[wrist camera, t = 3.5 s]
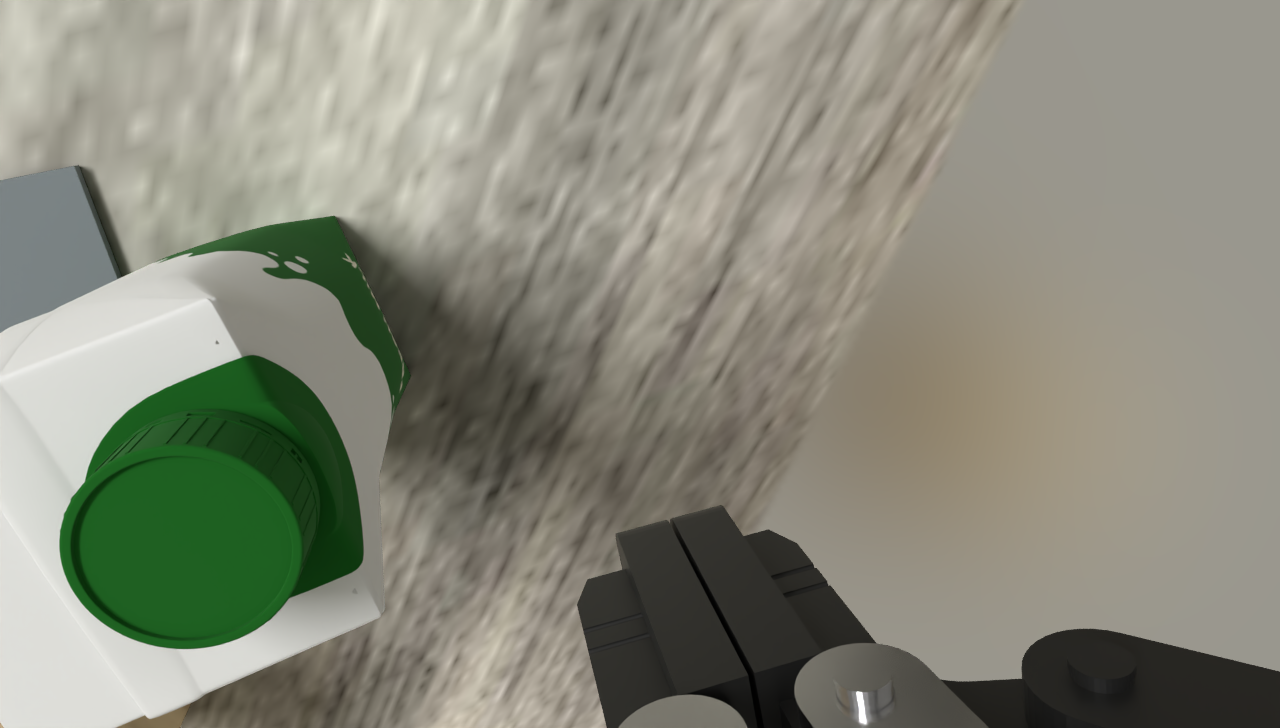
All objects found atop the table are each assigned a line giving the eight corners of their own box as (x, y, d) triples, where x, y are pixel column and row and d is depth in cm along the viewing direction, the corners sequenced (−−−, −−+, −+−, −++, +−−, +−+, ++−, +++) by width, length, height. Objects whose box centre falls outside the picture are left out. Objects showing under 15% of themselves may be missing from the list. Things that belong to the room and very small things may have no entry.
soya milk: (441, 386, 36) (416, 688, 17) (230, 471, 35) (-44, 887, 16) (347, 183, 33) (189, 271, 14) (114, 271, 32) (-381, 490, 13)
